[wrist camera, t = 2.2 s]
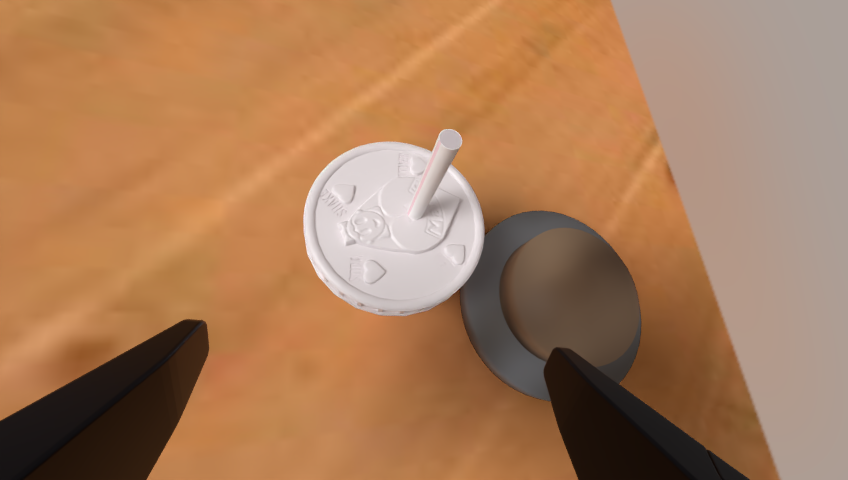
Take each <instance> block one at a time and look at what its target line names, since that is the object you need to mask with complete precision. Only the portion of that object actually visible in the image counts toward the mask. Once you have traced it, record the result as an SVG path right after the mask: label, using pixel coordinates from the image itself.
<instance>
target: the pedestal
mask: <svg viewBox="0 0 848 480" xmlns="http://www.w3.org/2000/svg"><path fill="white" fill-rule="evenodd" d="M460 305H461V312H462V318H463V321H464V325H465V329H466V331H467V334H468V336H469V339H470V341H471V343H472V345H473V347H474V349H475V350H476V352H477V354H478V355H479V357H480V358H481V359H482V361H483V362H484V364H485V365H486V366H487V367H488V368H489V369H490V370H491V371H492V372H493V374H495V375H496V376H497V377H498V378H499V379H500V380H502V381H503V382H504V383H505V384H507V385H508V386H510V387H512V388H513V389H515V390H517V391H519V392H521V393H523V394H525V395H528V396H531V397H534V398H537V399H542V400H546V401H551V400H550V396H549V393H548V389H547V386H546V383H545V379H544V374H543V370H544V366H545V364H546V362H547V360H548V358H549V356H550V354H551V352H552V350H553V349H554V348H555V347H565V348H570V349H571V350H573V351H574V352H575V353H577V354H578V355H580V356H581V357H582V358H584V359H585V360H586V361H588V362H589V363H591V364H592V365H593V366H595V367H596V368H597V369H599V370H600V371H601V372H603V373H604V374H606V375H607V376H608V377H610V378H611V379H612V380H614V381H615V382H616V383H618V384H619V383H620V382H621V381H622V379H623V378H624V377H625V376H626V374H627V373H628V371H629V369H630V368H631V366H632V364H633V362H634V359H635V357H636V354H637V350H638V347H639V342H640V335H641V314H640V306H639V300H638V295H637V291H636V287H635V284H634V282H633V279H632V277H631V275H630V273H629V271H628V269H627V267H626V266H625V264H624V263H623V261H622V260H621V259H620V257H619V256H618V255H617V253H616V252H615V251H614V250H613V248H612V247H611V246H610V245H609V244H608V243H607V242H606V241H605V240H604V239H603V238H602V237H601V236H600V235H599V234H597V233H596V232H595V231H594V230H593V229H591V228H589V227H588V226H586V225H585V224H583V223H581V222H580V221H578V220H576V219H574V218H571V217H568V216H566V215H563V214H559V213H555V212H548V211H530V212H524V213H520V214H517V215H514V216H511V217H509V218H507V219H505V220H504V221H502V222H501V223H499V224H498V225H496V226H495V227H494V228H493V229H492V230H490V231H489V232H488V233H487V234H486V235H485V236H484V244H483V249H482V253H481V256H480V259H479V261H478V264H477V266H476V268H475V269H474V271H473V273H472V274H471V276H470V277H469V279H468V280H467V281H466V282H465V283H464V285H463V286H462V287H461V288H460Z"/></svg>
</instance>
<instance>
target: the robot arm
mask: <svg viewBox="0 0 848 480" xmlns="http://www.w3.org/2000/svg"><path fill="white" fill-rule="evenodd" d="M208 352H209V341H208V331H207V324H206V322H205V321H203V320H192V319H186V320H183V321H181V322H179V323H177V324H175V325H173V326H172V327H170V328H168V329H166V330H164V331H163V332H161V333H159V334H157V335H155V336H154V337H152V338H150V339H148V340H146V341H144V342H143V343H141V344H139V345H137V346H135V347H134V348H132V349H130V350H128V351H126V352H124V353H123V354H121V355H119V356H117V357H115V358H114V359H112V360H110V361H108V362H106V363H104V364H103V365H101V366H99V367H97V368H95V369H94V370H92V371H90V372H88V373H86V374H85V375H83V376H81V377H79V378H77V379H75V380H74V381H72V382H70V383H68V384H66V385H65V386H63V387H61V388H59V389H57V390H55V391H54V392H52V393H50V394H48V395H46V396H45V397H43V398H41V399H39V400H37V401H36V402H34V403H32V404H30V405H28V406H26V407H25V408H23V409H21V410H19V411H17V412H16V413H14V414H12V415H10V416H8V417H6V418H5V419H3V420H1V421H0V480H146V479H147V478H148V476H149V474H150V472H151V471H152V469H153V467H154V465H155V464H156V462H157V460H158V458H159V456H160V455H161V453H162V451H163V449H164V448H165V446H166V444H167V442H168V440H169V439H170V437H171V435H172V433H173V432H174V430H175V428H176V426H177V424H178V422H179V420H180V418H181V416H182V414H183V411H184V409H185V407H186V405H187V402H188V400H189V398H190V395H191V393H192V391H193V388H194V386H195V384H196V381H197V379H198V377H199V375H200V372H201V370H202V368H203V365H204V363H205V361H206V358H207V356H208ZM543 374H544V379H545V383H546V386H547V389H548V393H549V396H550V400H551V403H552V407H553V410H554V414H555V417H556V421H557V424H558V427H559V430H560V433H561V436H562V438H563V441H564V444H565V446H566V449H567V451H568V454H569V456H570V459H571V462H572V464H573V467H574V469H575V472H576V474H577V477H578V480H750V479H748V478H747V477H745V476H744V475H743V474H741V473H740V472H738V471H737V470H736V469H734V468H733V467H731V466H730V465H729V464H727V463H726V462H725V461H723V460H722V459H720V458H719V457H718V456H716V455H715V454H714V453H712V452H711V451H710V450H706V448H705V447H704V446H703V445H701V444H700V443H699V442H697V441H696V440H694V439H693V438H692V437H690V436H689V435H688V434H686V433H685V432H683V431H682V430H681V429H679V428H678V427H677V426H675V425H674V424H673V423H671V422H670V421H668V420H667V419H666V418H664V417H663V416H662V415H660V414H659V413H657V412H656V411H655V410H653V409H652V408H651V407H649V406H648V405H647V404H645V403H644V402H642V401H641V400H640V399H638V398H637V397H636V396H634V395H633V394H631V393H630V392H629V391H627V390H626V389H625V388H623V387H622V386H621V385H619V384H618V383H616V382H615V381H614V380H612V379H611V378H610V377H608V376H607V375H606V374H604V373H603V372H601V371H600V370H599V369H597V368H596V367H595V366H593V365H592V364H591V363H589V362H588V361H586V360H585V359H584V358H582V357H581V356H580V355H578V354H577V353H575V352H574V351H573V350H571V349H570V348H565V347H555V348H554V349H553V350H552V352H551V354H550V356H549V358H548V360H547V362H546V364H545V366H544V370H543Z"/></svg>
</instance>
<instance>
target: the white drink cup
mask: <svg viewBox="0 0 848 480" xmlns="http://www.w3.org/2000/svg"><path fill="white" fill-rule="evenodd" d="M461 144H462V138H461V136H460V135H459V133H458V132H456V131H454V130H452V129H445V130H443V131H441V133H440V134H439V137H438V139H437V141H436V144H435V146H434V148H433V151H432V152H431V151H429V150H427V149H424V148H421V147H418V146H415V145H411V144H406V143H400V142H377V143H371V144H366V145H362V146H359V147H356V148H354V149H351V150H349V151H347V152H345V153H344V154H342V155H340V156H339V157H337V158H336V159H334V160H333V161H332V162H331V163H330V164H329V165H327V166H326V167H325V168H324V170H323V171H322V172H321V173H320V174H319V176H318V177H317V178H316V180H315V182H314V183H313V185H312V187H311V189H310V192H309V194H308V197H307V200H306V204H305V209H304V236H305V242H306V248H307V254H308V256H309V258H310V261H311V263H312V265H313V267H314V269H315V271H316V273H317V275H318V276H319V278H320V279H321V280H322V281H323V282H324V283H325V284H326V285H327V286H328V288H329V289H330V290H331V291H332V292H333V293H334V294H335V295H336V296H338V297H340V298H341V299H343V300H344V301H346V302H347V303H349V304H351V305H352V306H354V307H355V308H358V309H361V310H364V311H368V312H371V313H374V314H377V315H385V316H407V315H411V314H416V313H420V312H424V311H428V310H430V309H431V308H433V307H435V306H437V305H439V304H440V303H442V302H444V301H446V300H447V299H449V298H450V297H451V296H452V295H453V294H454V293H455V292H456V291H457V290H458V289H459V288H461V287H462V286H463V285H464V283H465V282H466V281H467V280H468V279H469V277H470V276H471V274H472V273H473V271H474V269H475V268H476V266H477V264H478V261H479V259H480V256H481V253H482V249H483V244H484V220H483V215H482V210H481V207H480V204H479V201H478V199H477V197H476V195H475V193H474V191H473V189H472V187H471V186H470V184H469V183H468V182H467V180H466V179H465V178H464V176H463V175H462V174H461V173H460V172H459V171H458V170H457V169H456V168H455V167H454V166H453V165H451V163H452V161H453V159H454V157H455V155H456V154H457V152H458V150H459V148H460V146H461Z"/></svg>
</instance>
